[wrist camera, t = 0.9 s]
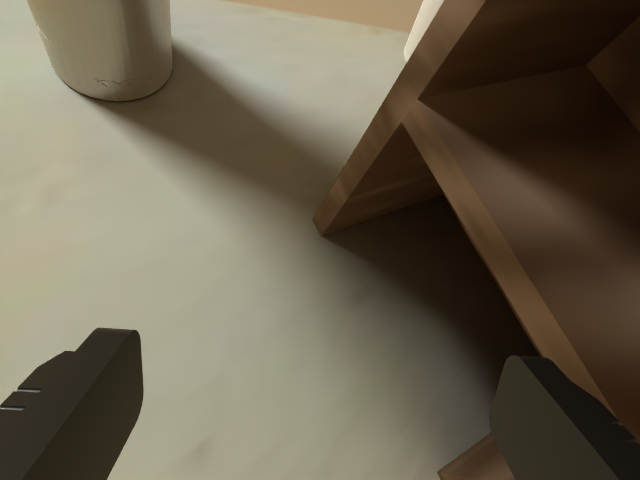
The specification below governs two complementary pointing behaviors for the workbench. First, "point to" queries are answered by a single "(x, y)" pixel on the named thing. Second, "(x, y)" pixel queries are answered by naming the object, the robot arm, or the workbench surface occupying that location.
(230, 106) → the workbench surface
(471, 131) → the shelf
